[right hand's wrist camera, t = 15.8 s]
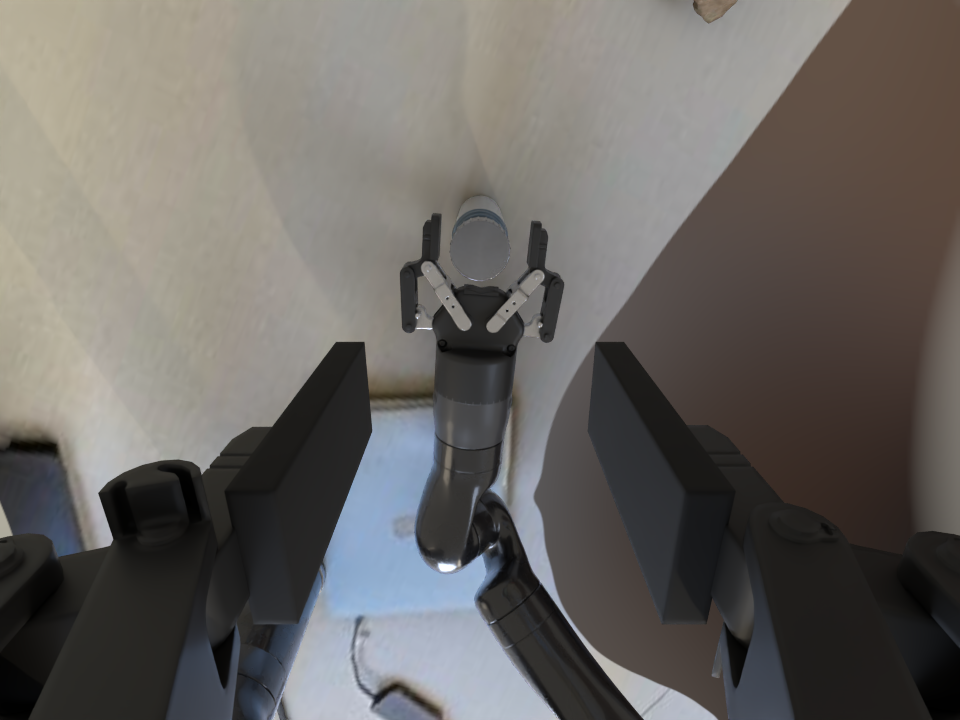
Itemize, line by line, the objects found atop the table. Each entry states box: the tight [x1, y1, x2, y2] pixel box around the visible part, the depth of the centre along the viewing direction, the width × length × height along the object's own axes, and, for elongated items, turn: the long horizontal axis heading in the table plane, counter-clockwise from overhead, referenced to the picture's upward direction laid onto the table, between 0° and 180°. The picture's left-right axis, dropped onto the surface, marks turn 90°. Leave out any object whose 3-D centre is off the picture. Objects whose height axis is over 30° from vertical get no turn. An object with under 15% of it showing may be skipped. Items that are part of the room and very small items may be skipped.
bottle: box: [452, 195, 508, 239], centre depth 42 cm, size 4×4×18 cm
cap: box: [450, 216, 510, 281], centre depth 35 cm, size 4×4×2 cm
